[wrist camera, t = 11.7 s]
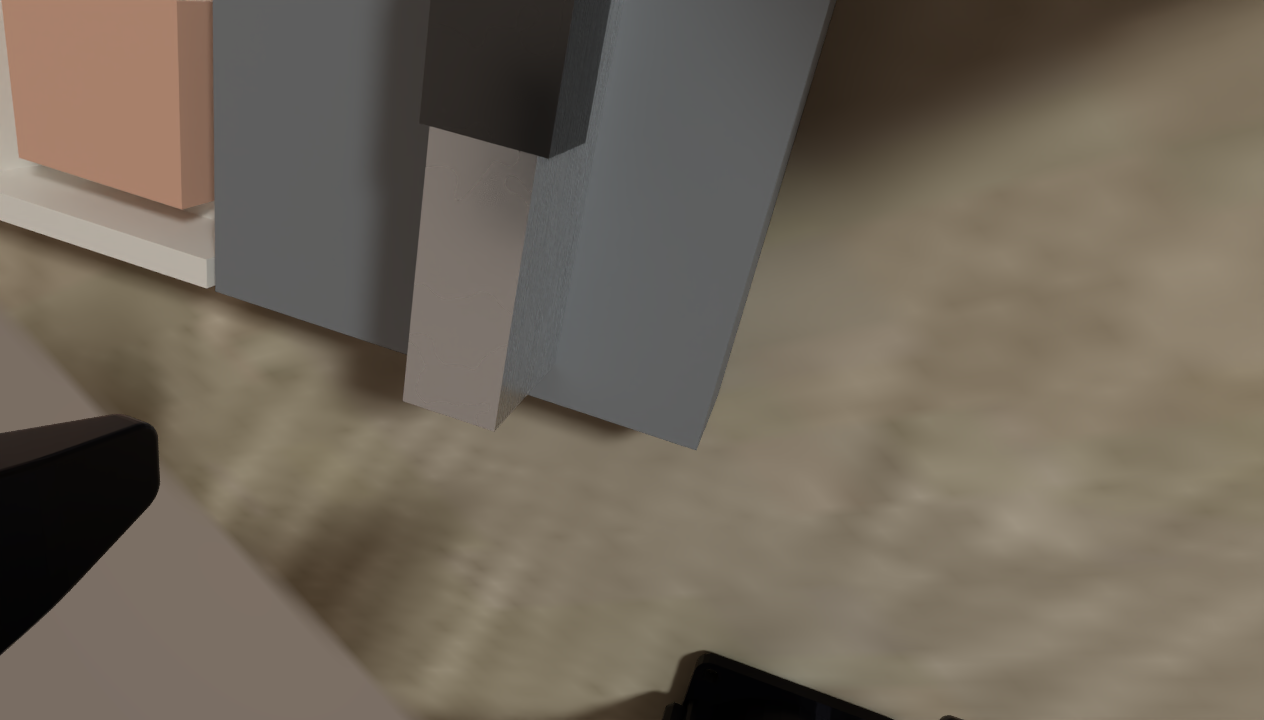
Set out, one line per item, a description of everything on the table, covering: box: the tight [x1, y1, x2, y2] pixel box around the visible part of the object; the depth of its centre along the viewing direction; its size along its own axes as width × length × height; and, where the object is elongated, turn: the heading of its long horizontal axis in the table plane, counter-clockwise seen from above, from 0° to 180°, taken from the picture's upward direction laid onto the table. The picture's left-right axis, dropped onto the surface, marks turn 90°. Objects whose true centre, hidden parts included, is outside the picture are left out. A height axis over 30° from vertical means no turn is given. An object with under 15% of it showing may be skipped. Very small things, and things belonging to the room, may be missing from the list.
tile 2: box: [1, 0, 214, 209], centre depth 21 cm, size 5×5×2 cm
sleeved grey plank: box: [403, 0, 623, 431], centre depth 14 cm, size 2×15×4 cm, turn 168°
